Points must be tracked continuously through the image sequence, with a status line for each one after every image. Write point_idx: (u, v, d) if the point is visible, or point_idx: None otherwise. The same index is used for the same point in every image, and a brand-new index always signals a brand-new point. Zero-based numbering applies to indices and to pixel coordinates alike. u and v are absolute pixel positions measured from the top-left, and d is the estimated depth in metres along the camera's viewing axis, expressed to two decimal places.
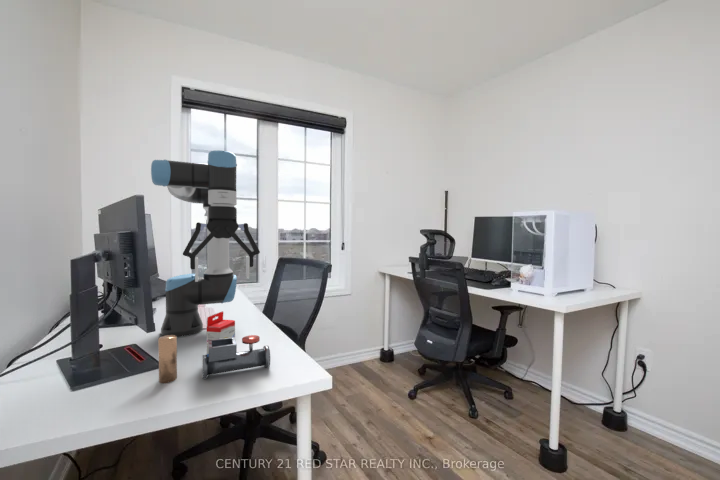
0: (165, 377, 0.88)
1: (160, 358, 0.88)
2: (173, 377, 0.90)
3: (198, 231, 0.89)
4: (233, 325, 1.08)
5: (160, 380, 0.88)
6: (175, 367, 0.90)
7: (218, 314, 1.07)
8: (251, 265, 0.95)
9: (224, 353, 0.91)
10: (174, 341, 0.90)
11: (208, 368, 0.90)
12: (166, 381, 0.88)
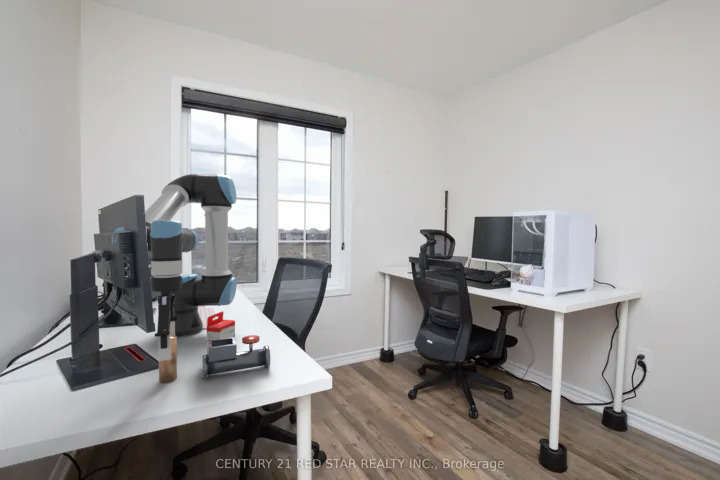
0: (165, 377, 0.88)
1: None
2: (173, 377, 0.90)
3: None
4: (233, 325, 1.08)
5: (160, 380, 0.88)
6: (175, 367, 0.90)
7: (218, 314, 1.07)
8: (160, 346, 0.82)
9: (224, 353, 0.91)
10: (174, 341, 0.90)
11: (208, 368, 0.90)
12: (166, 381, 0.88)
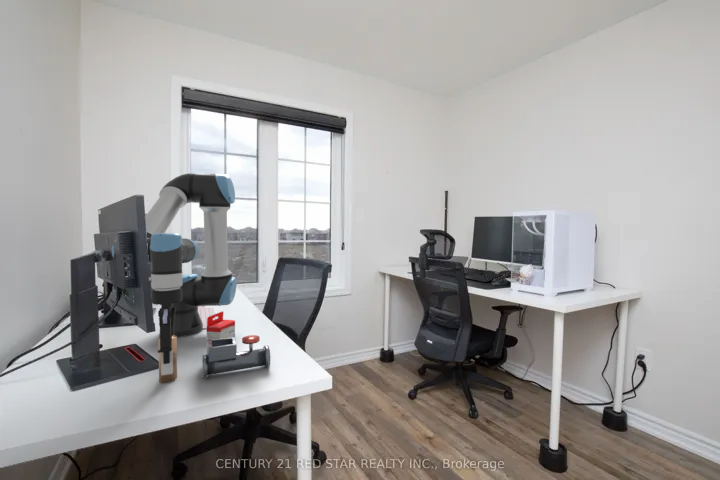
0: (165, 377, 0.88)
1: (160, 358, 0.88)
2: (173, 377, 0.90)
3: None
4: (233, 325, 1.08)
5: (160, 380, 0.88)
6: (175, 367, 0.90)
7: (218, 314, 1.07)
8: None
9: (224, 353, 0.91)
10: (174, 341, 0.90)
11: (208, 368, 0.90)
12: (166, 381, 0.88)
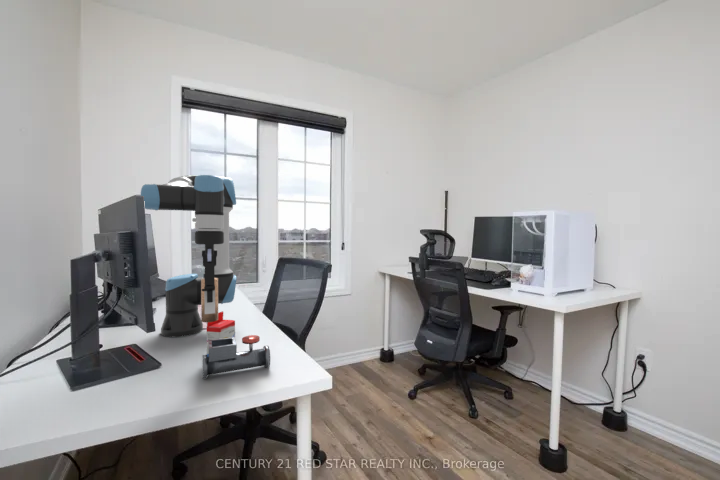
0: (208, 316, 0.90)
1: (203, 298, 0.90)
2: (215, 317, 0.91)
3: None
4: (233, 325, 1.08)
5: (203, 319, 0.90)
6: (217, 308, 0.92)
7: (218, 314, 1.07)
8: (207, 300, 0.88)
9: (224, 353, 0.91)
10: (216, 282, 0.91)
11: (208, 368, 0.90)
12: (209, 320, 0.90)
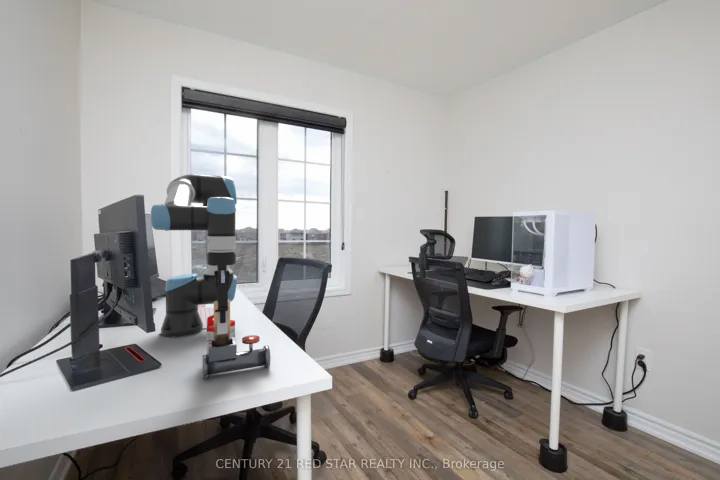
0: (220, 339, 0.91)
1: (216, 320, 0.91)
2: (227, 339, 0.92)
3: None
4: (233, 325, 1.08)
5: (216, 342, 0.91)
6: (229, 330, 0.93)
7: None
8: (220, 321, 0.90)
9: (224, 353, 0.91)
10: (228, 304, 0.93)
11: (208, 368, 0.90)
12: (221, 343, 0.91)
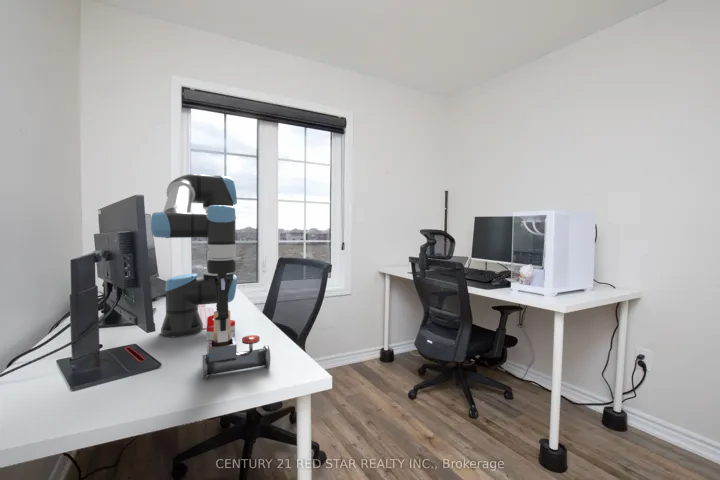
0: None
1: (216, 331, 0.91)
2: None
3: None
4: (233, 325, 1.08)
5: None
6: (229, 340, 0.93)
7: None
8: (220, 329, 0.88)
9: (224, 353, 0.91)
10: None
11: (208, 368, 0.90)
12: None
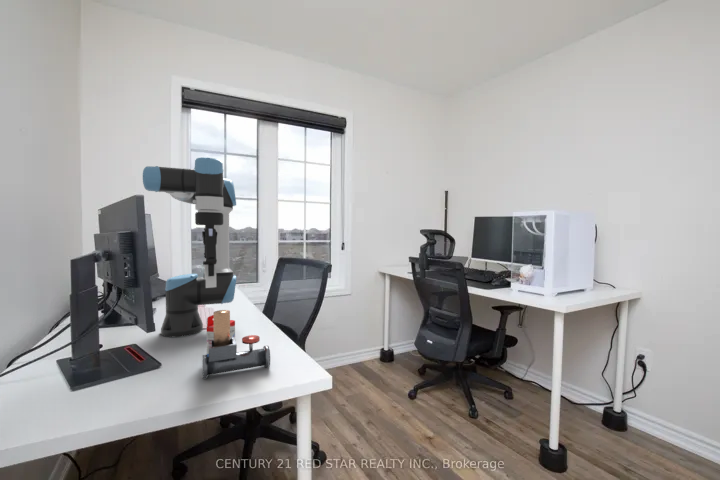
0: None
1: (216, 331, 0.91)
2: None
3: None
4: (233, 325, 1.08)
5: None
6: (229, 340, 0.93)
7: None
8: (208, 274, 0.88)
9: (224, 353, 0.91)
10: (228, 315, 0.93)
11: (208, 368, 0.90)
12: None
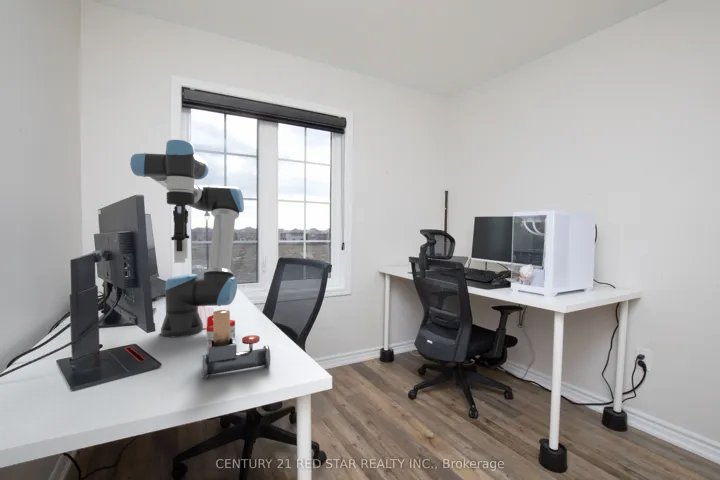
0: None
1: (215, 331, 0.91)
2: None
3: None
4: (233, 325, 1.08)
5: None
6: (229, 340, 0.93)
7: None
8: (176, 249, 0.92)
9: (224, 353, 0.91)
10: (228, 315, 0.93)
11: (208, 368, 0.90)
12: None
